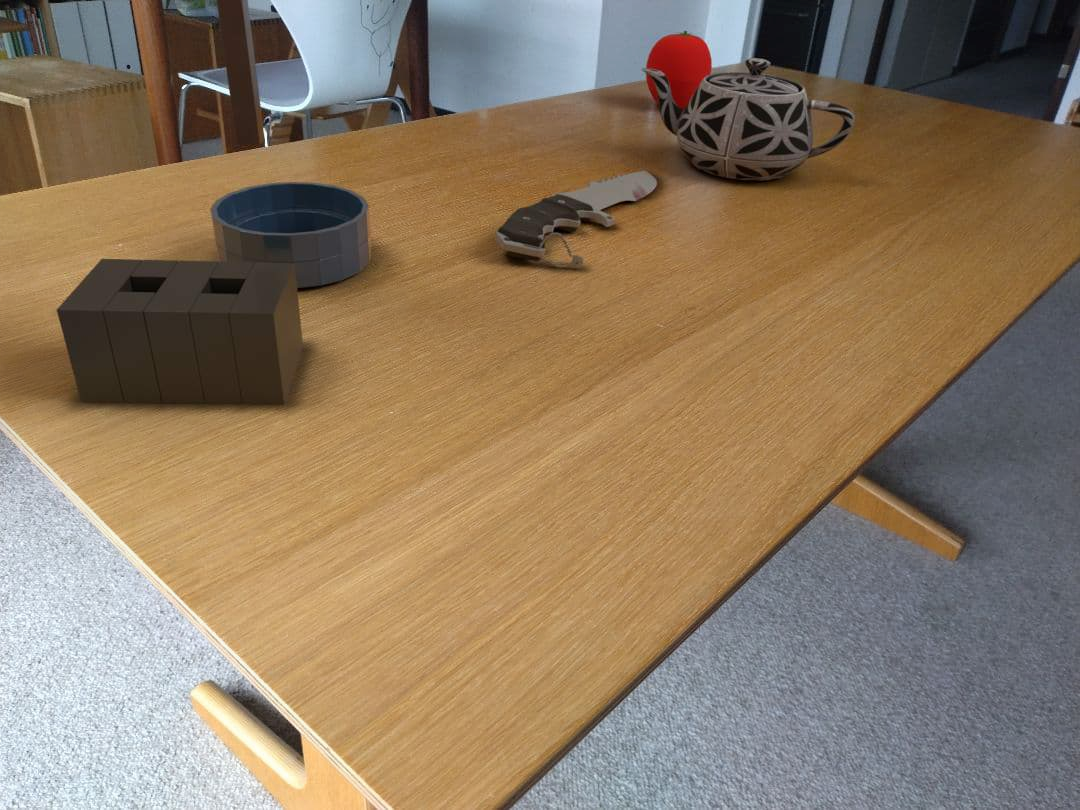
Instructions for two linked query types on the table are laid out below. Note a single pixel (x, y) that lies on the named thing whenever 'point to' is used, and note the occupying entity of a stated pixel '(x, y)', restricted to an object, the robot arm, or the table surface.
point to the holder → (184, 332)
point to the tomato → (680, 65)
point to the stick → (241, 71)
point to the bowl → (295, 229)
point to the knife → (568, 215)
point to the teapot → (747, 123)
